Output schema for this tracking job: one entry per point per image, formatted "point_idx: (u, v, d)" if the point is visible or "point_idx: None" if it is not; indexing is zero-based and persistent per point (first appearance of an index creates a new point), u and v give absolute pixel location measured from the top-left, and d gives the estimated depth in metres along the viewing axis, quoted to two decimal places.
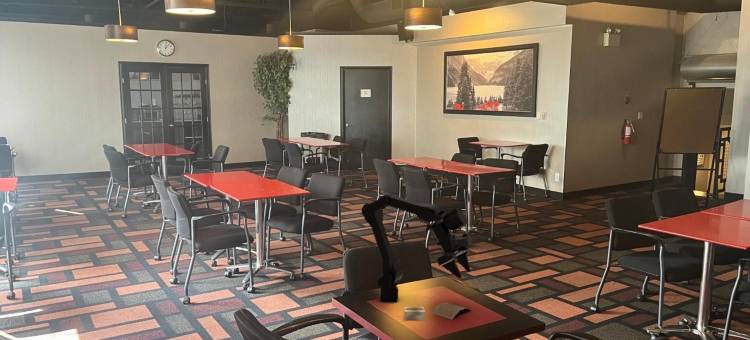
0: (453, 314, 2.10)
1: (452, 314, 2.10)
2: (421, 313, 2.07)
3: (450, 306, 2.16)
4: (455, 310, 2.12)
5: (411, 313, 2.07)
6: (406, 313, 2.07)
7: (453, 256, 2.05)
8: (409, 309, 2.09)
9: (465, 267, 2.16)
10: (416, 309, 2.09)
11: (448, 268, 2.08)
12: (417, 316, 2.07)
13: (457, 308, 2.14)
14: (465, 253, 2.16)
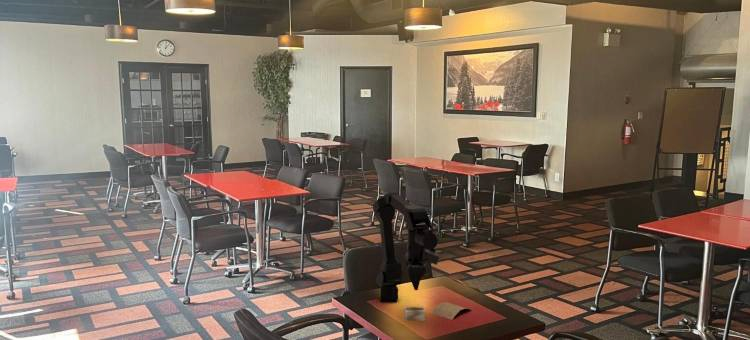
0: (453, 314, 2.10)
1: (452, 313, 2.10)
2: (421, 313, 2.07)
3: (450, 306, 2.16)
4: (455, 310, 2.12)
5: (411, 313, 2.07)
6: (406, 313, 2.07)
7: None
8: (409, 309, 2.09)
9: None
10: (416, 309, 2.09)
11: (412, 277, 2.02)
12: (418, 316, 2.07)
13: (457, 308, 2.14)
14: None
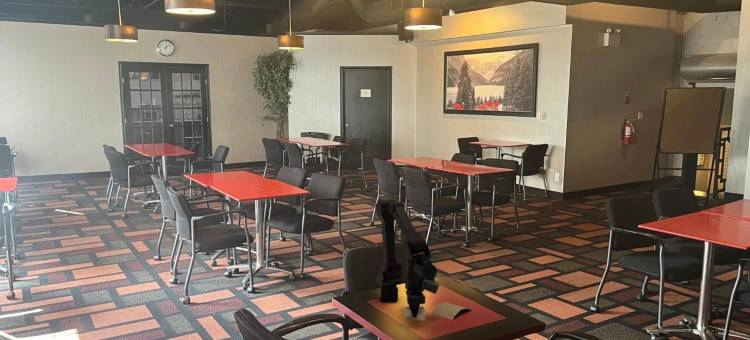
0: (453, 314, 2.10)
1: (452, 313, 2.11)
2: (422, 312, 2.07)
3: (450, 306, 2.16)
4: (455, 310, 2.12)
5: None
6: (407, 313, 2.07)
7: None
8: (409, 309, 2.08)
9: None
10: None
11: (410, 305, 2.05)
12: (418, 315, 2.07)
13: (457, 308, 2.14)
14: None
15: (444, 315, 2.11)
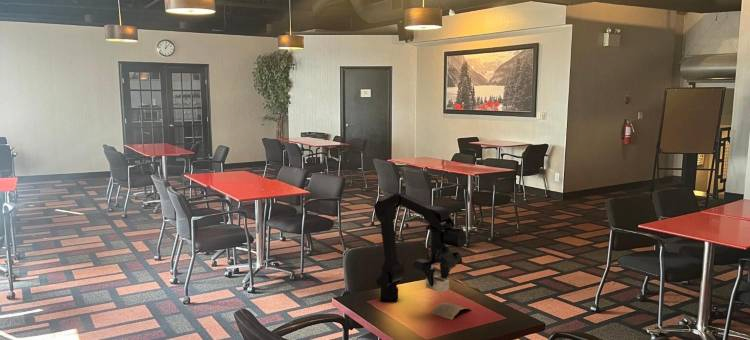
0: (453, 314, 2.10)
1: (452, 313, 2.11)
2: (437, 283, 2.08)
3: (450, 306, 2.16)
4: (455, 310, 2.12)
5: None
6: (426, 280, 2.12)
7: (426, 269, 2.04)
8: None
9: None
10: (437, 279, 2.11)
11: (425, 272, 2.10)
12: (434, 285, 2.10)
13: (457, 308, 2.14)
14: (448, 267, 2.11)
15: (444, 315, 2.11)
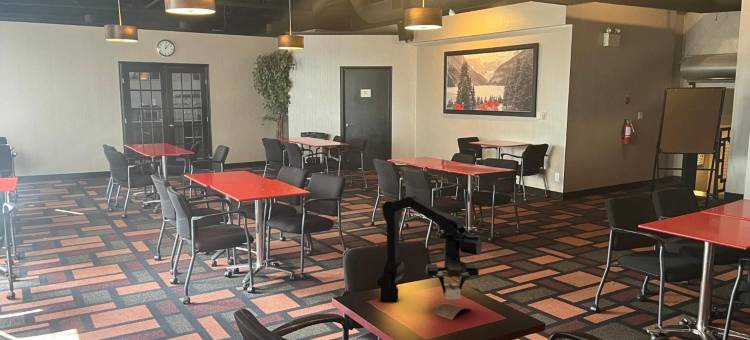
0: (453, 314, 2.10)
1: (452, 313, 2.11)
2: (446, 290, 2.12)
3: (450, 306, 2.16)
4: (455, 310, 2.12)
5: None
6: None
7: (432, 274, 2.11)
8: (448, 285, 2.16)
9: None
10: (450, 287, 2.14)
11: None
12: (445, 292, 2.14)
13: (457, 308, 2.14)
14: (461, 277, 2.12)
15: (444, 315, 2.11)
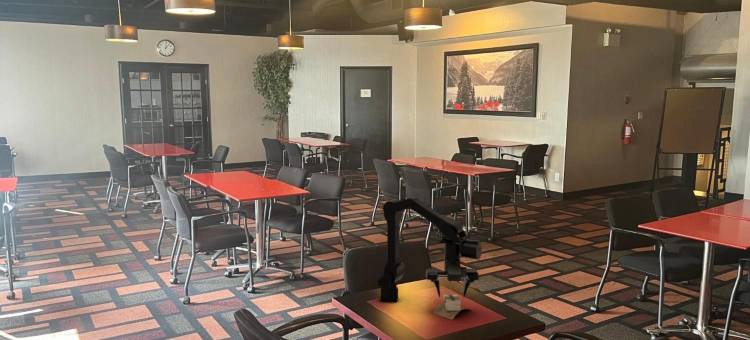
0: (453, 315, 2.10)
1: (452, 314, 2.11)
2: (446, 301, 2.13)
3: None
4: (455, 310, 2.12)
5: (444, 298, 2.16)
6: None
7: (432, 278, 2.11)
8: (449, 296, 2.17)
9: (463, 291, 2.15)
10: (451, 298, 2.14)
11: None
12: (445, 303, 2.14)
13: None
14: (466, 281, 2.12)
15: (444, 315, 2.11)
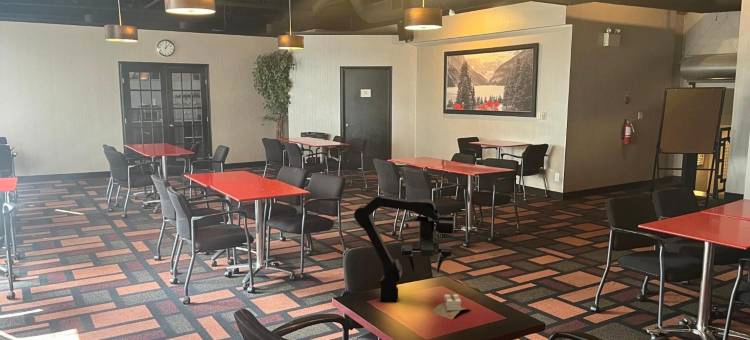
0: (453, 315, 2.10)
1: (452, 314, 2.11)
2: (446, 301, 2.13)
3: None
4: (455, 310, 2.12)
5: (445, 298, 2.16)
6: (444, 296, 2.18)
7: (406, 253, 2.21)
8: (449, 296, 2.17)
9: (437, 267, 2.25)
10: (451, 298, 2.15)
11: None
12: (446, 303, 2.14)
13: None
14: (439, 257, 2.22)
15: (444, 315, 2.11)
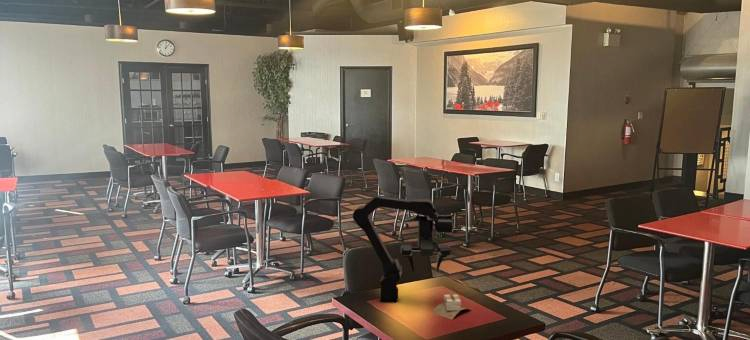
0: (453, 314, 2.10)
1: (452, 314, 2.11)
2: (446, 301, 2.13)
3: None
4: (455, 310, 2.12)
5: (445, 298, 2.16)
6: (444, 296, 2.18)
7: (406, 253, 2.21)
8: (449, 296, 2.17)
9: (436, 266, 2.25)
10: (451, 298, 2.14)
11: None
12: (446, 303, 2.14)
13: None
14: (438, 256, 2.22)
15: (444, 315, 2.11)
